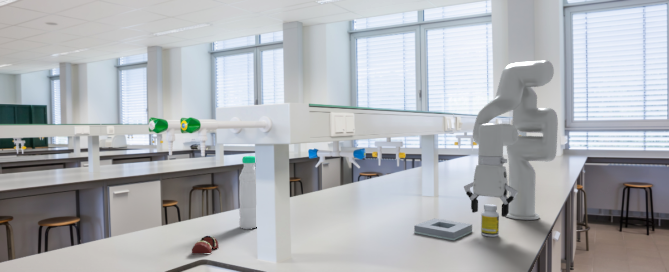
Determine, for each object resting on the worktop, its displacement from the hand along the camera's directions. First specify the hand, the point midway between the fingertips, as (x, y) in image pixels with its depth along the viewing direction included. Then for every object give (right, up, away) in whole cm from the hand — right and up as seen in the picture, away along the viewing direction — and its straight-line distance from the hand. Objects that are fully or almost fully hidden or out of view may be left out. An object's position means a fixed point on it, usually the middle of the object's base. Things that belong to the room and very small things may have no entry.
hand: (489, 214), depth 140 cm
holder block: (-14, -7, +4) cm, 16 cm away
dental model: (-88, -8, -17) cm, 90 cm away
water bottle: (-80, -7, +11) cm, 81 cm away
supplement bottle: (0, -7, +1) cm, 7 cm away
